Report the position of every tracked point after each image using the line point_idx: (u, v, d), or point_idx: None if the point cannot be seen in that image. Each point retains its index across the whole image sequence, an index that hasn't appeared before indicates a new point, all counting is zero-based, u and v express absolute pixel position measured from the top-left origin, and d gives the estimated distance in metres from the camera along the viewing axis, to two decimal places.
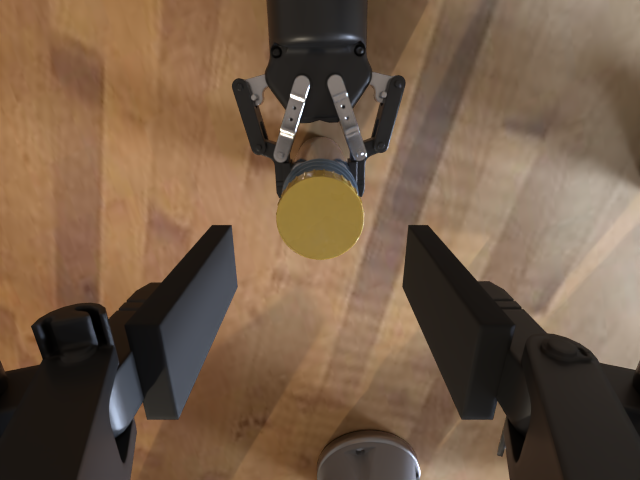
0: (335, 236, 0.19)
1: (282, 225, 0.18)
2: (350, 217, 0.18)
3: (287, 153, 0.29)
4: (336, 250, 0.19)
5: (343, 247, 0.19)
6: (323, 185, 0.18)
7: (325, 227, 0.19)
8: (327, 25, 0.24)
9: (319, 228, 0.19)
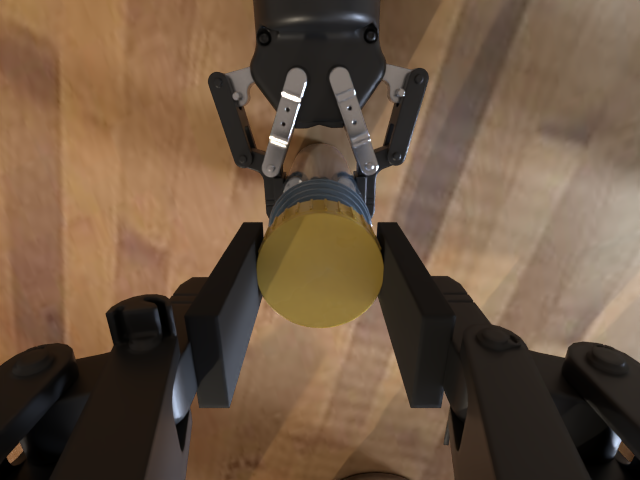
0: (342, 297, 0.13)
1: (265, 282, 0.13)
2: (364, 271, 0.13)
3: (279, 166, 0.23)
4: (343, 315, 0.13)
5: (353, 311, 0.13)
6: (325, 226, 0.12)
7: (327, 284, 0.13)
8: (329, 0, 0.18)
9: (319, 286, 0.13)
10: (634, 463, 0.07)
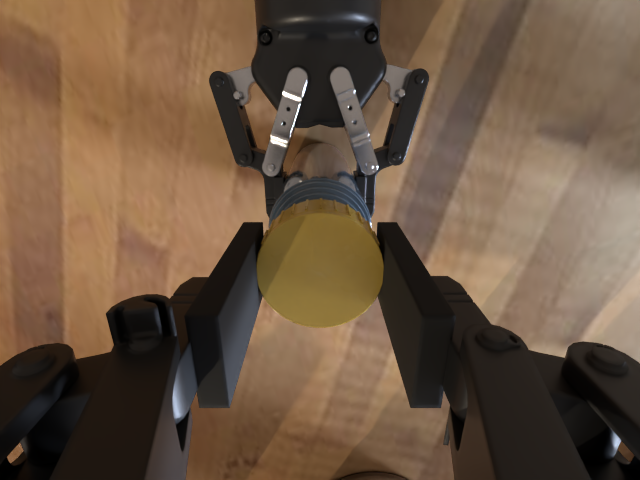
0: (338, 247, 0.12)
1: (343, 317, 0.13)
2: (302, 235, 0.12)
3: (279, 165, 0.23)
4: (360, 239, 0.12)
5: (353, 230, 0.12)
6: (270, 283, 0.13)
7: (328, 264, 0.12)
8: (331, 0, 0.18)
9: (332, 271, 0.13)
10: (633, 463, 0.07)
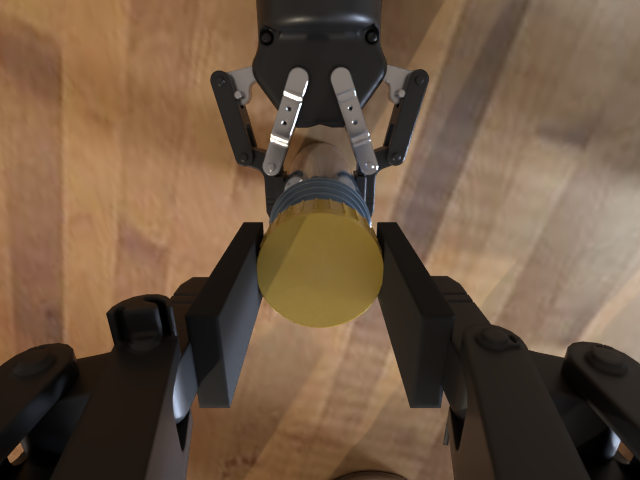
0: (286, 266, 0.12)
1: (363, 238, 0.12)
2: (286, 298, 0.13)
3: (279, 164, 0.23)
4: (271, 250, 0.12)
5: (265, 259, 0.12)
6: (343, 312, 0.13)
7: (307, 269, 0.12)
8: (332, 1, 0.18)
9: (313, 264, 0.12)
10: (633, 463, 0.07)
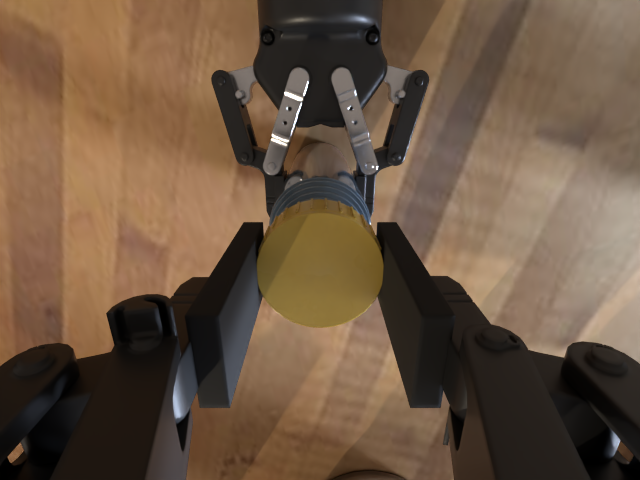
0: (321, 303, 0.13)
1: (270, 248, 0.12)
2: (356, 295, 0.13)
3: (280, 164, 0.24)
4: (309, 319, 0.13)
5: (320, 321, 0.13)
6: (357, 239, 0.12)
7: (319, 286, 0.13)
8: (333, 2, 0.18)
9: (311, 282, 0.13)
10: (633, 463, 0.07)
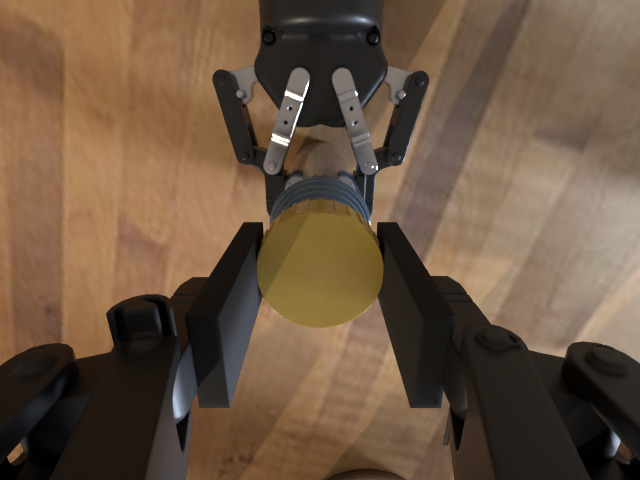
0: (352, 263, 0.12)
1: (307, 320, 0.13)
2: (333, 234, 0.12)
3: (280, 163, 0.24)
4: (374, 269, 0.12)
5: (374, 259, 0.12)
6: (273, 252, 0.12)
7: (333, 271, 0.13)
8: (334, 2, 0.18)
9: (331, 279, 0.13)
10: (633, 462, 0.07)
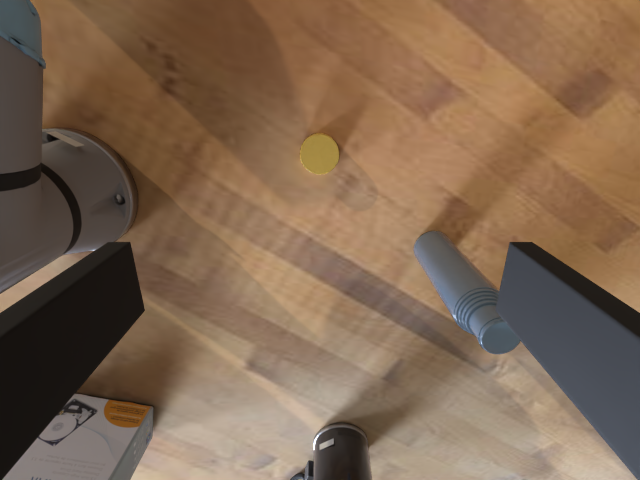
0: (329, 151, 0.41)
1: (315, 171, 0.42)
2: (323, 141, 0.41)
3: None
4: (336, 153, 0.41)
5: (336, 149, 0.41)
6: (305, 147, 0.41)
7: (323, 153, 0.41)
8: None
9: (323, 156, 0.41)
10: None
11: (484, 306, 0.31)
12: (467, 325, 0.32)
